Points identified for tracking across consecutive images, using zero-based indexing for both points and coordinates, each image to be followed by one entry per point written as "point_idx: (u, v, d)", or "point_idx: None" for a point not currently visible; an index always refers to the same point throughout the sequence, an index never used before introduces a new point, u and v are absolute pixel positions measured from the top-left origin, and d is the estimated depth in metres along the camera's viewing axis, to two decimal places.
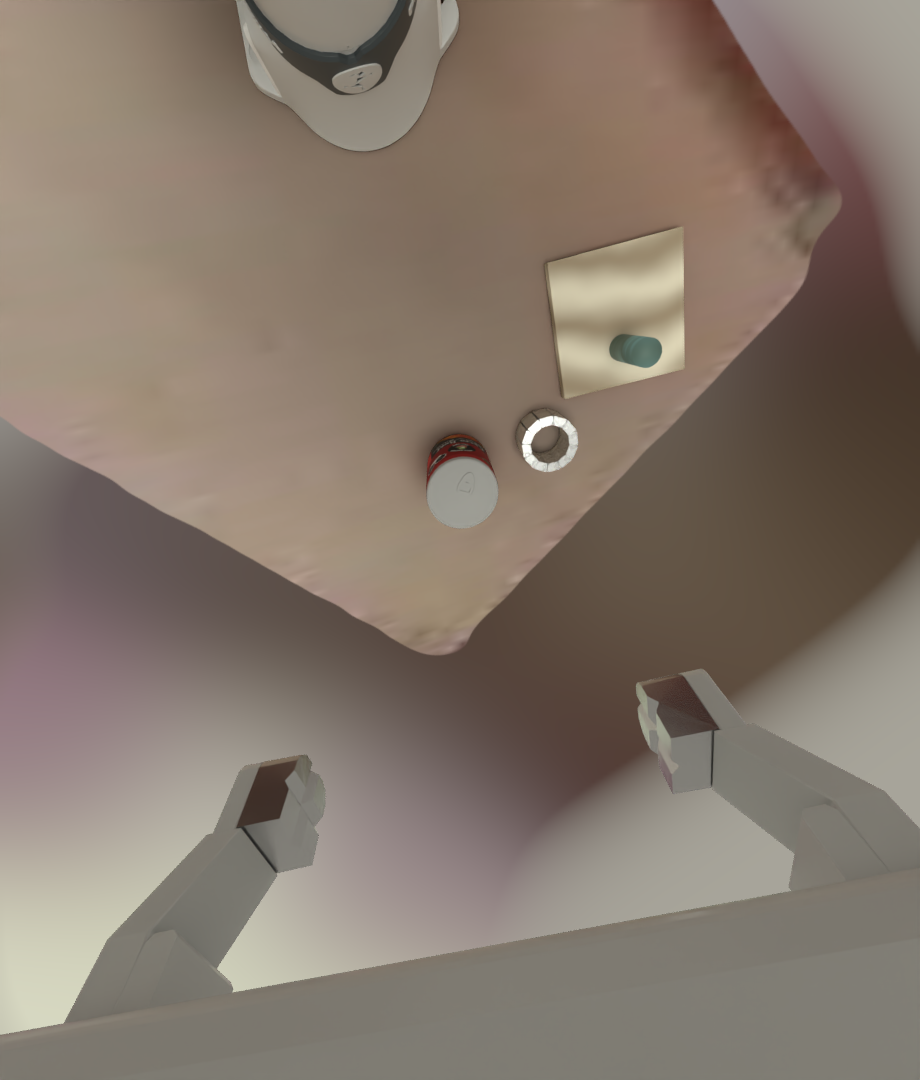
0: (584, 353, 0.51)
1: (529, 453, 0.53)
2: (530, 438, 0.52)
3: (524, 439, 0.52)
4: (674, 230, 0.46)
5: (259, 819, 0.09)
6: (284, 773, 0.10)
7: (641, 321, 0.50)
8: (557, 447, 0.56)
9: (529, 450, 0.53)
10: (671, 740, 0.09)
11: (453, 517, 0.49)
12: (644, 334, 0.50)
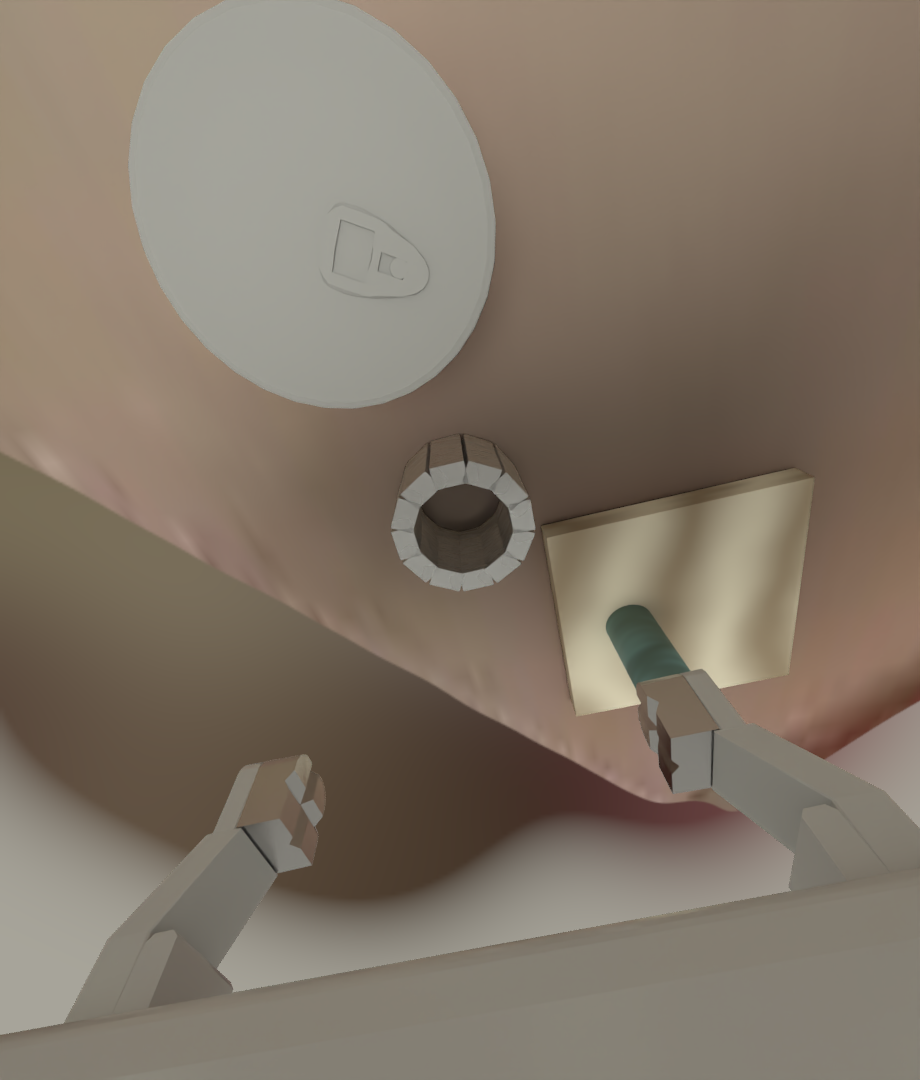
0: (631, 564, 0.25)
1: (440, 482, 0.20)
2: (481, 481, 0.20)
3: (478, 466, 0.19)
4: (787, 665, 0.29)
5: (259, 819, 0.09)
6: (284, 773, 0.10)
7: None
8: (436, 534, 0.25)
9: (448, 481, 0.20)
10: (671, 740, 0.09)
11: (188, 177, 0.10)
12: None
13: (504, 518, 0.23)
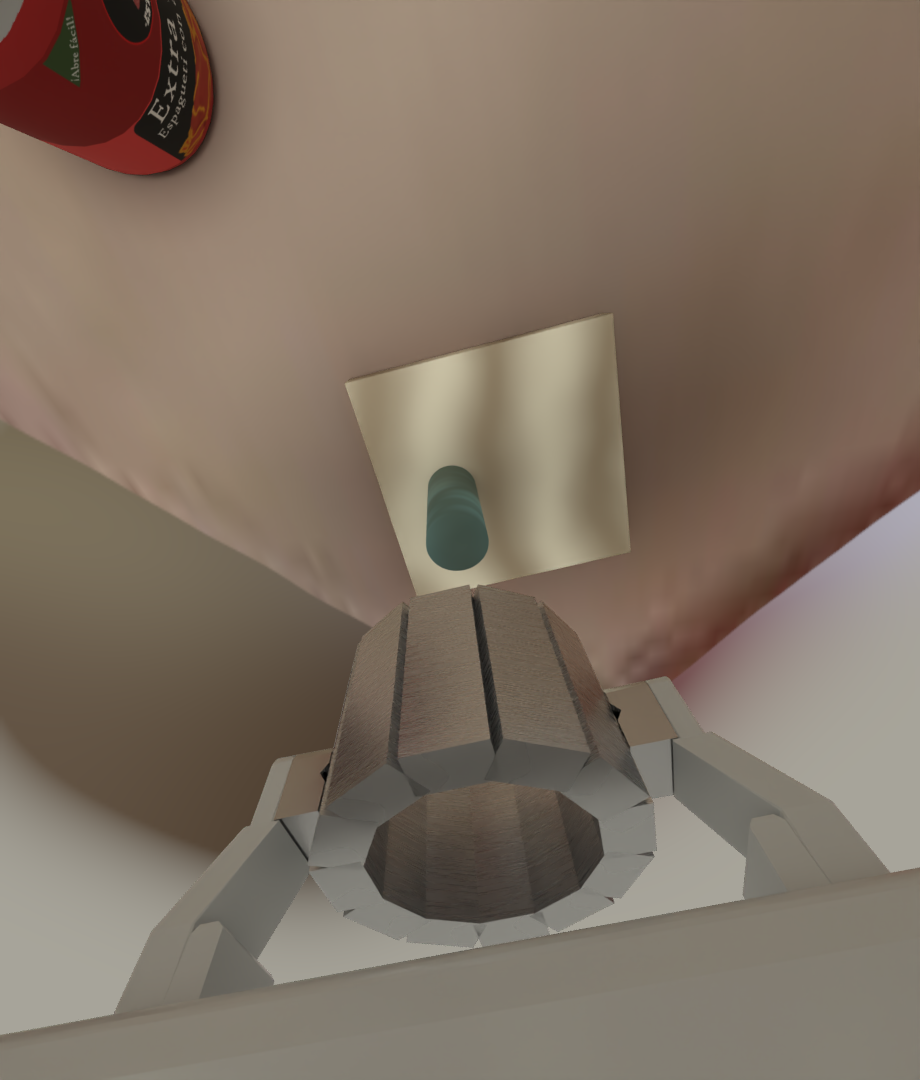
0: (440, 416, 0.25)
1: (428, 781, 0.07)
2: (534, 776, 0.08)
3: (529, 747, 0.07)
4: (627, 540, 0.29)
5: (296, 811, 0.09)
6: (318, 766, 0.10)
7: (495, 516, 0.27)
8: None
9: (449, 779, 0.07)
10: (630, 748, 0.09)
11: None
12: None
13: None
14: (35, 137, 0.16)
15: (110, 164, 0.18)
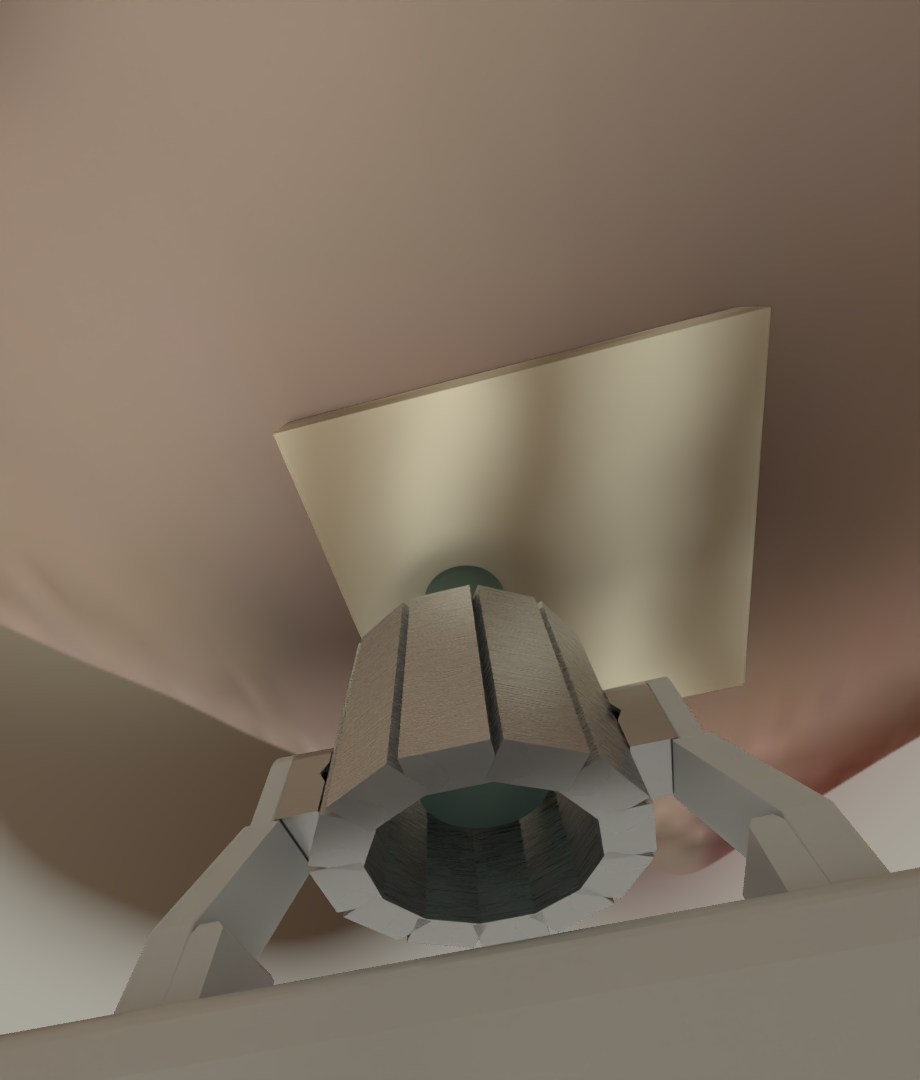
0: (446, 488, 0.14)
1: (428, 782, 0.07)
2: (534, 777, 0.08)
3: (529, 747, 0.07)
4: (741, 669, 0.18)
5: (296, 811, 0.09)
6: (318, 766, 0.10)
7: None
8: None
9: (449, 780, 0.07)
10: (630, 748, 0.09)
11: None
12: None
13: None
14: None
15: None
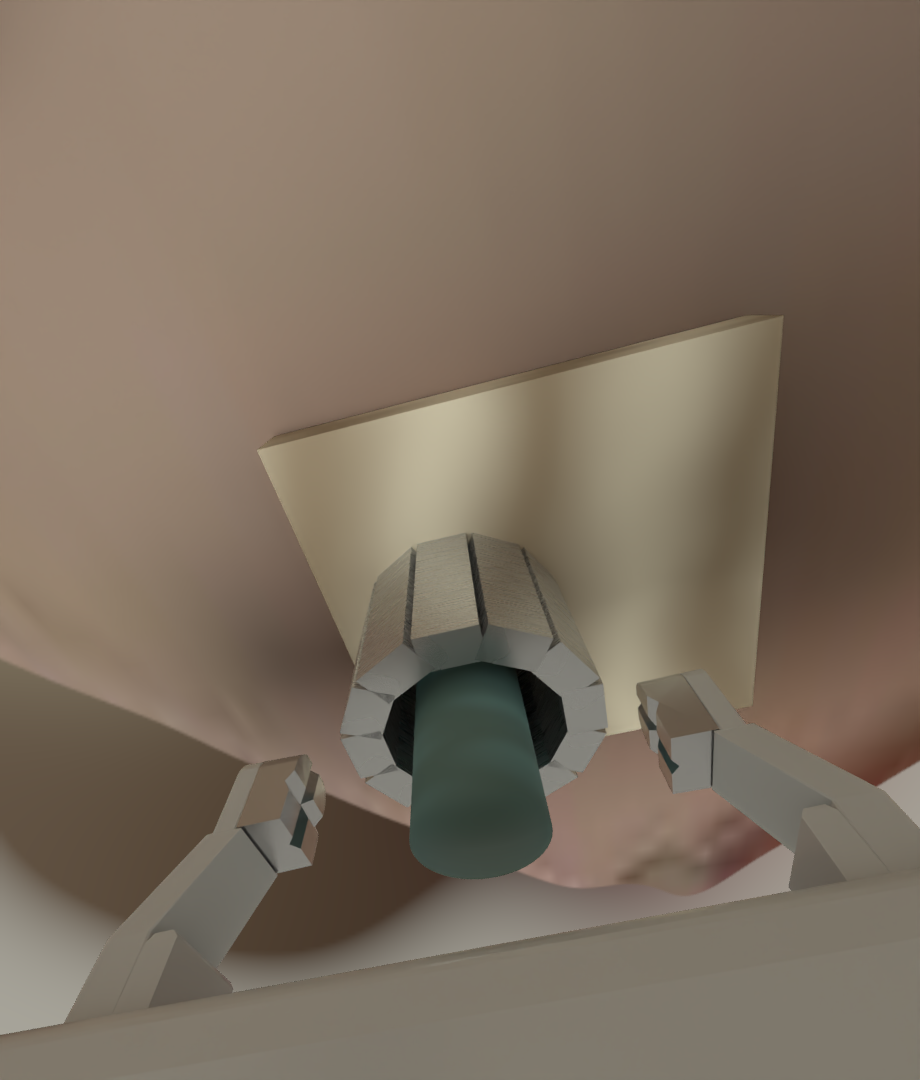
0: (441, 506, 0.13)
1: (432, 660, 0.10)
2: (511, 657, 0.10)
3: (508, 632, 0.10)
4: (749, 690, 0.17)
5: (259, 819, 0.09)
6: (284, 773, 0.10)
7: None
8: None
9: (449, 659, 0.10)
10: (671, 740, 0.09)
11: None
12: None
13: None
14: None
15: None
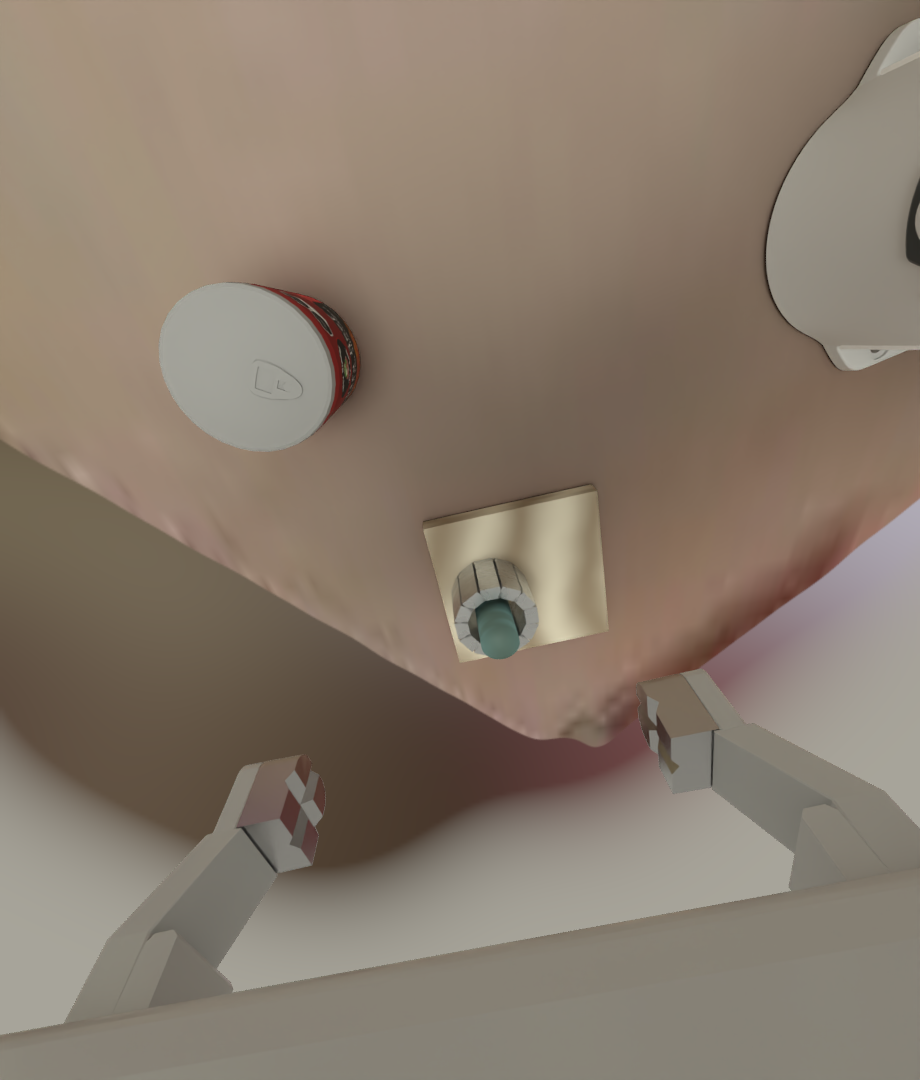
0: (483, 548, 0.37)
1: (485, 597, 0.34)
2: (509, 597, 0.34)
3: (508, 589, 0.34)
4: (606, 623, 0.41)
5: (259, 819, 0.09)
6: (284, 773, 0.10)
7: None
8: (475, 617, 0.39)
9: (490, 597, 0.34)
10: (671, 740, 0.09)
11: (186, 348, 0.21)
12: None
13: (519, 610, 0.37)
14: None
15: None
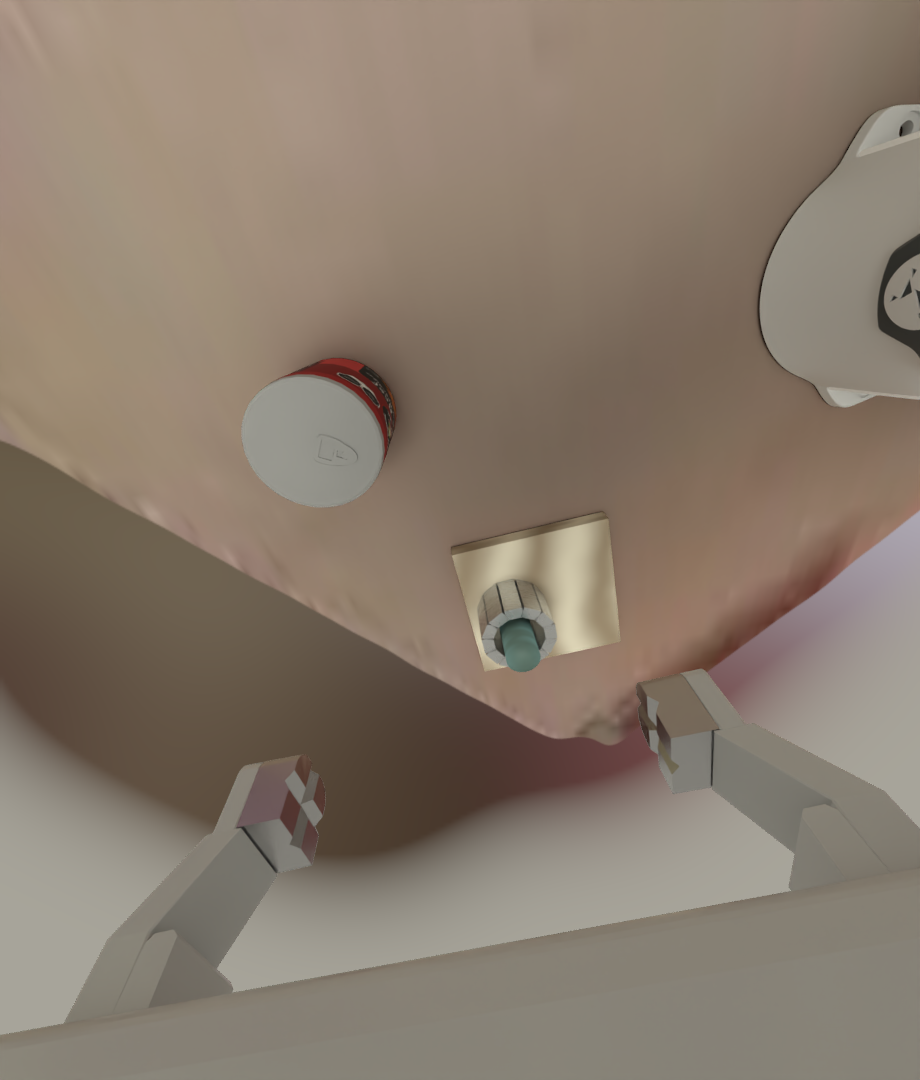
0: (506, 570, 0.41)
1: (509, 617, 0.38)
2: (530, 616, 0.38)
3: (529, 609, 0.38)
4: (618, 635, 0.45)
5: (259, 819, 0.09)
6: (284, 773, 0.10)
7: None
8: (498, 631, 0.43)
9: (513, 616, 0.38)
10: (671, 740, 0.09)
11: (263, 428, 0.26)
12: None
13: (538, 626, 0.41)
14: None
15: None
